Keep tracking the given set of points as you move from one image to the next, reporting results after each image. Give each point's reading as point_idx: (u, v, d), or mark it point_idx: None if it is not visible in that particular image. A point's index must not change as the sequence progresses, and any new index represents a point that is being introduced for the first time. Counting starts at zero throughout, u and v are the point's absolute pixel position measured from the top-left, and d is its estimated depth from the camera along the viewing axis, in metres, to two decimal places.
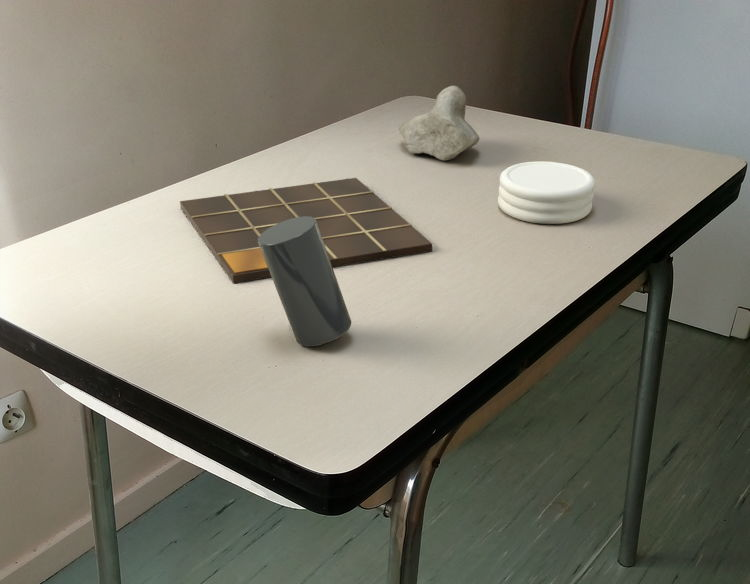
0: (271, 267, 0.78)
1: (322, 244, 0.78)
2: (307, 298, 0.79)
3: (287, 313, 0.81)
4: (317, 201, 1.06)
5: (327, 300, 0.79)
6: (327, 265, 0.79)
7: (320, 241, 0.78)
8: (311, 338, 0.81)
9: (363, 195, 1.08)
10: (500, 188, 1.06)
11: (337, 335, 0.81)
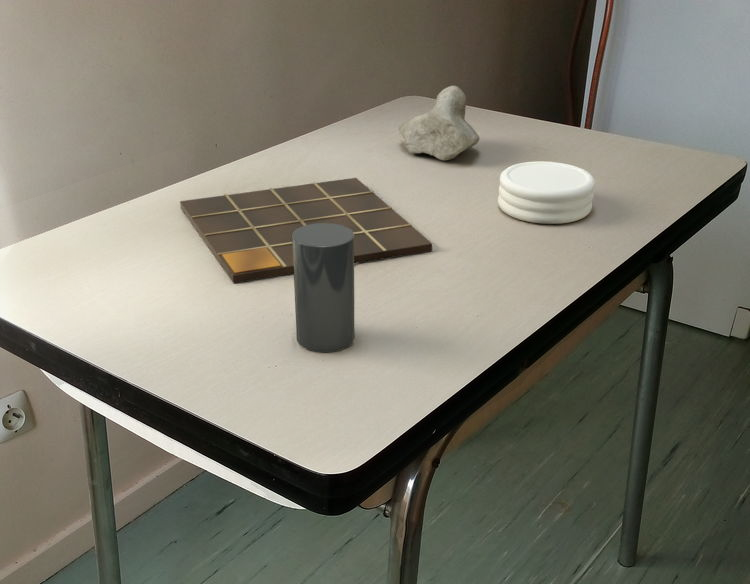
0: (298, 266, 0.78)
1: (353, 258, 0.79)
2: (324, 305, 0.79)
3: (298, 313, 0.81)
4: (317, 201, 1.06)
5: (342, 312, 0.80)
6: (352, 279, 0.79)
7: (353, 255, 0.78)
8: (315, 343, 0.81)
9: (363, 195, 1.08)
10: (500, 188, 1.06)
11: (341, 348, 0.82)
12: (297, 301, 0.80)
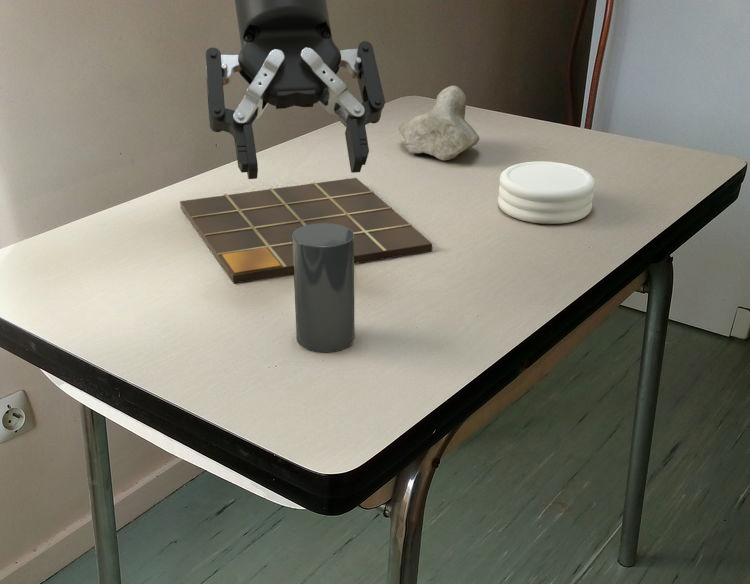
0: (298, 266, 0.78)
1: (353, 258, 0.79)
2: (324, 305, 0.79)
3: (298, 313, 0.81)
4: (317, 201, 1.06)
5: (342, 312, 0.80)
6: (352, 279, 0.79)
7: (353, 255, 0.78)
8: (315, 343, 0.81)
9: (363, 195, 1.08)
10: (500, 188, 1.06)
11: (341, 348, 0.82)
12: (297, 301, 0.80)
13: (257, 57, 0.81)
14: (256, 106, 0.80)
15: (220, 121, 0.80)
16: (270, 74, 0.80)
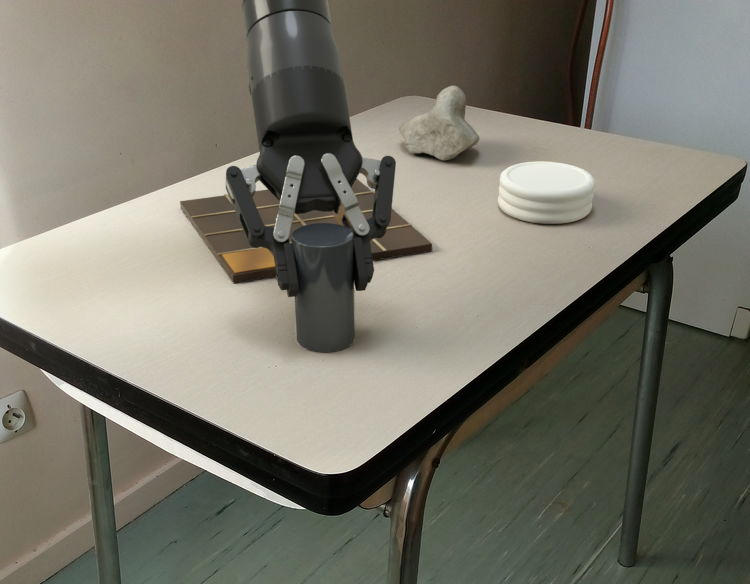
0: (298, 266, 0.78)
1: (353, 258, 0.79)
2: (324, 305, 0.79)
3: (298, 313, 0.81)
4: None
5: (342, 312, 0.80)
6: (351, 279, 0.79)
7: (352, 255, 0.78)
8: (315, 343, 0.81)
9: (363, 195, 1.08)
10: (500, 188, 1.06)
11: (341, 348, 0.82)
12: (297, 301, 0.80)
13: (276, 162, 0.79)
14: (292, 219, 0.78)
15: (259, 239, 0.78)
16: (290, 181, 0.78)
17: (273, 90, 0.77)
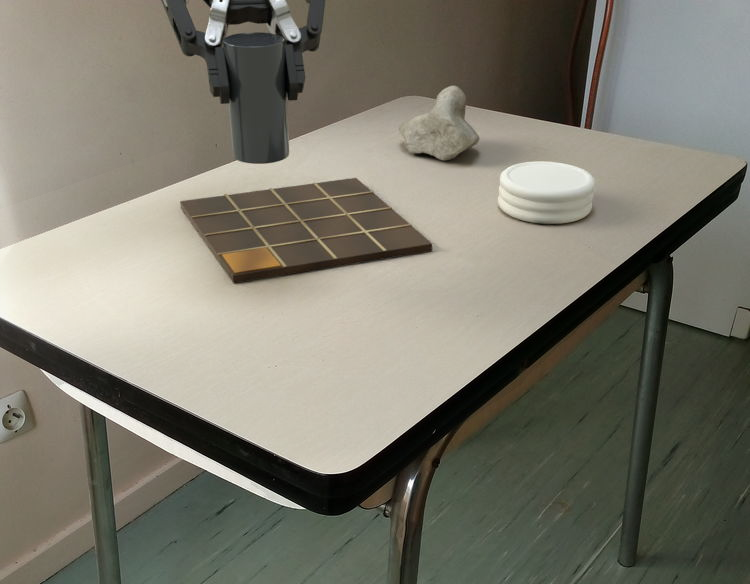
0: (229, 70, 0.79)
1: (284, 64, 0.80)
2: (256, 112, 0.80)
3: (231, 123, 0.82)
4: (317, 201, 1.06)
5: (274, 121, 0.81)
6: (283, 87, 0.80)
7: (283, 60, 0.79)
8: (248, 154, 0.82)
9: (363, 195, 1.08)
10: (500, 188, 1.06)
11: (274, 160, 0.83)
12: (230, 110, 0.81)
13: None
14: (224, 24, 0.79)
15: (191, 43, 0.79)
16: None
17: None
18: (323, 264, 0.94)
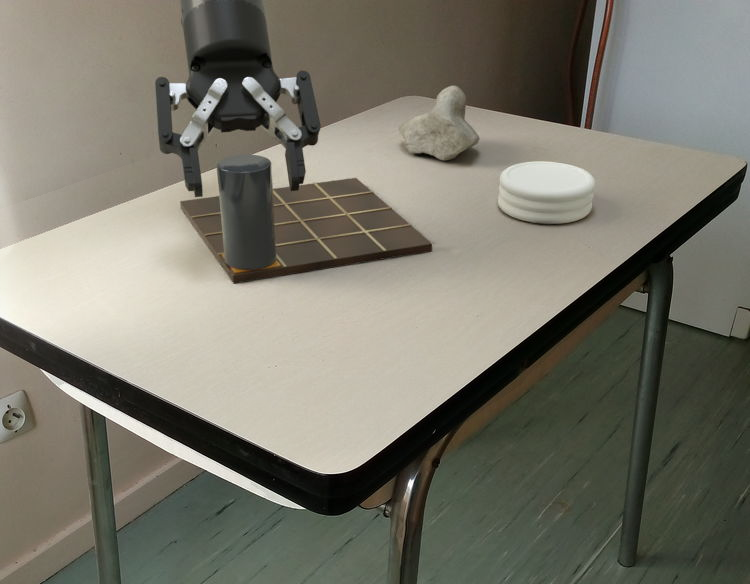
0: (222, 190, 0.88)
1: (271, 184, 0.89)
2: (246, 226, 0.89)
3: (224, 234, 0.91)
4: (317, 201, 1.06)
5: (262, 233, 0.90)
6: (270, 203, 0.90)
7: (270, 181, 0.89)
8: (239, 262, 0.91)
9: (363, 195, 1.08)
10: (500, 188, 1.06)
11: (263, 266, 0.92)
12: (223, 223, 0.91)
13: (203, 85, 0.89)
14: (201, 130, 0.88)
15: (168, 144, 0.88)
16: (214, 101, 0.88)
17: (199, 20, 0.87)
18: (323, 264, 0.94)
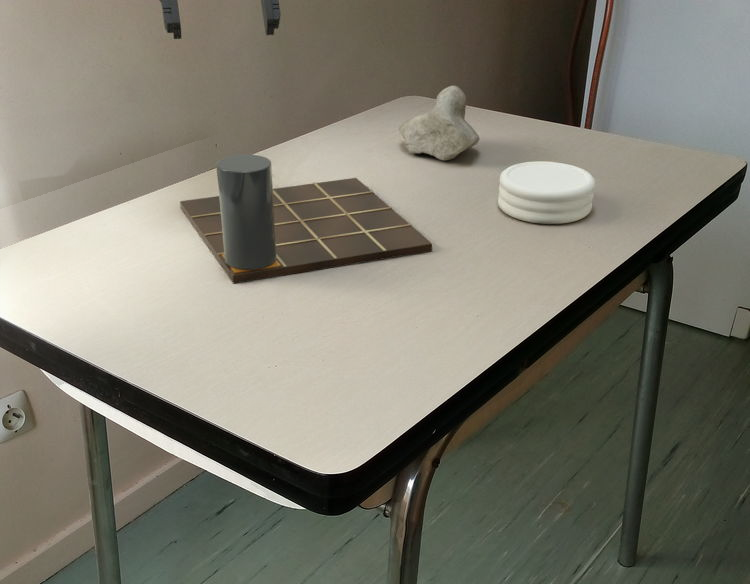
0: (222, 190, 0.88)
1: (271, 184, 0.89)
2: (246, 226, 0.89)
3: (224, 234, 0.91)
4: (317, 201, 1.06)
5: (262, 233, 0.90)
6: (270, 203, 0.90)
7: (270, 181, 0.89)
8: (239, 262, 0.91)
9: (363, 195, 1.08)
10: (500, 188, 1.06)
11: (263, 266, 0.92)
12: (223, 223, 0.91)
13: None
14: None
15: None
16: None
17: None
18: (323, 264, 0.94)
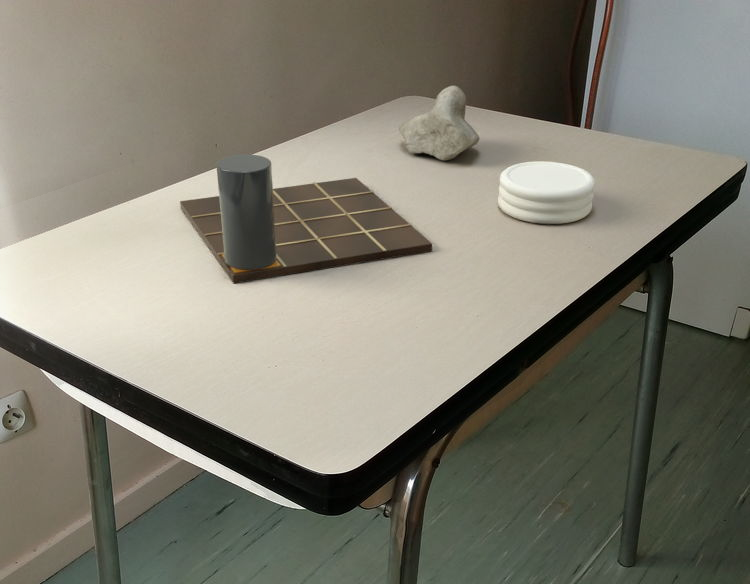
0: (222, 190, 0.88)
1: (271, 184, 0.89)
2: (246, 226, 0.89)
3: (224, 234, 0.91)
4: (317, 201, 1.06)
5: (262, 233, 0.90)
6: (270, 203, 0.90)
7: (270, 181, 0.89)
8: (239, 262, 0.91)
9: (363, 195, 1.08)
10: (500, 188, 1.06)
11: (263, 266, 0.92)
12: (223, 223, 0.91)
13: None
14: None
15: None
16: None
17: None
18: (323, 264, 0.94)
